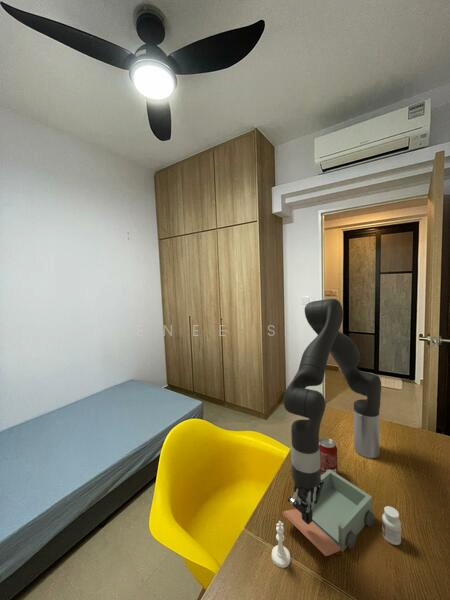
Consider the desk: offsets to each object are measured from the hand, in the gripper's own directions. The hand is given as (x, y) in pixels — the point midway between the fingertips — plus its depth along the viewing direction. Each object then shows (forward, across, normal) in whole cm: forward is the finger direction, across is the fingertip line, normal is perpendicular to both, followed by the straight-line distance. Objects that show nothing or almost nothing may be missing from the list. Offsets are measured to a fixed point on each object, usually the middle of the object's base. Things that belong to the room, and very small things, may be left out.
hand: (307, 520), depth 68 cm
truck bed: (+6, -14, 0) cm, 15 cm away
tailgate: (+5, -4, 0) cm, 7 cm away
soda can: (+7, -26, -11) cm, 29 cm away
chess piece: (+7, +8, -2) cm, 11 cm away
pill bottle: (+7, -20, +13) cm, 24 cm away
